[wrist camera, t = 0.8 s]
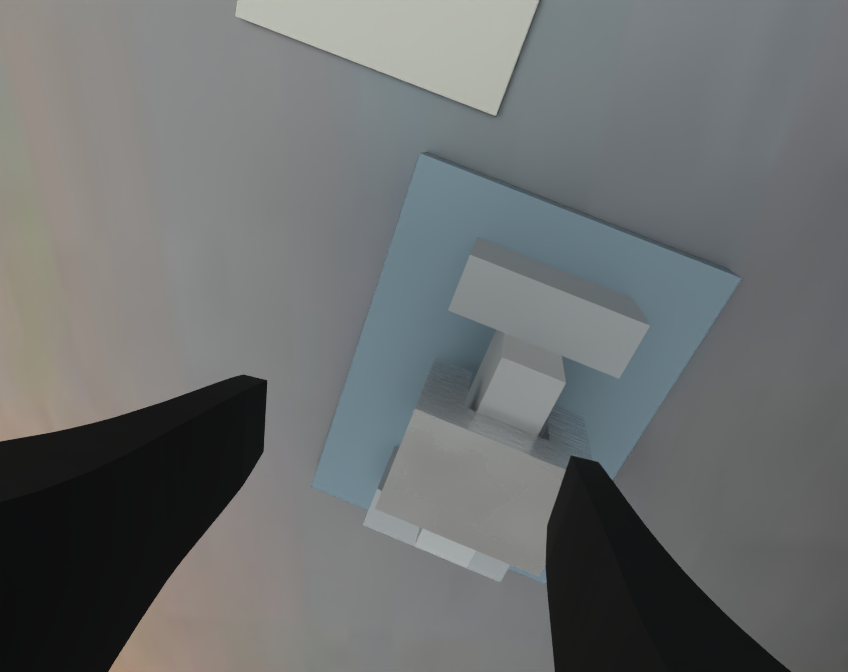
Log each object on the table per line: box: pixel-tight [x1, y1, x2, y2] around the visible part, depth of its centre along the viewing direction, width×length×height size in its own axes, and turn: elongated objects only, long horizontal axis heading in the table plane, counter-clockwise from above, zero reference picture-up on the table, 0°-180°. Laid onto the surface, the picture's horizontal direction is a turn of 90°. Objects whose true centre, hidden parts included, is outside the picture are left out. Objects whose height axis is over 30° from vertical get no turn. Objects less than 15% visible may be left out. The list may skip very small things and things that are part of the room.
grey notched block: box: [375, 357, 593, 577], centre depth 17 cm, size 6×4×4 cm
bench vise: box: [311, 152, 742, 584], centre depth 19 cm, size 12×16×6 cm
